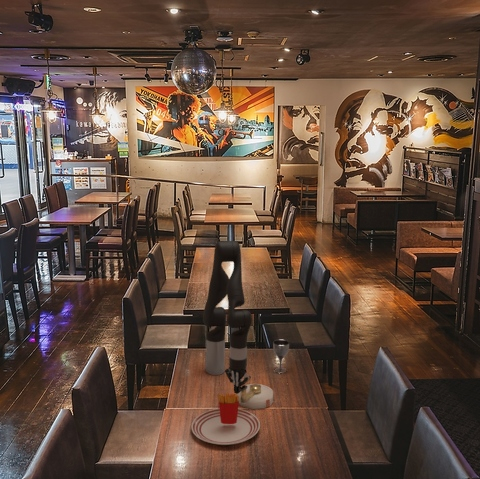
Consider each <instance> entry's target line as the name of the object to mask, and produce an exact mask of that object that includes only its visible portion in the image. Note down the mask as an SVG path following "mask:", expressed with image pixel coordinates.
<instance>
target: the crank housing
mask: <svg viewBox="0 0 480 479" xmlns="http://www.w3.org/2000/svg"><path fill="white" fill-rule="evenodd" d="M252 384H253V383H250V384H249V383H248V384H245V385H246V386H247V389H246V393H248V392H249V391H250V385H252ZM257 384H258V385H260V386H261V392H260V393H259V394H254V395H253V396H252V397H251V398H249V399H248V400H247V401H246V402H245V403H241V402H240V398H241V391H240V393H238V394H236V396H237V395H238V396H239V399H238V400H239V405H240V406H241V407H244V408H246V409H250V410H262V409H267V408H268V407H271V405H273V403H274V390H273V389H272V388H271V387H269V386H267V385H265V384H261V383H257Z"/></svg>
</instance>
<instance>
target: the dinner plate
mask: <svg viewBox="0 0 480 479" xmlns="http://www.w3.org/2000/svg"><path fill="white" fill-rule="evenodd" d="M190 427H191V432H192V433H193V435H194V436H195V437H196V438H197V439H199V440H201V441H203V442H205V443H209V444H213V445H220V446H221V445H222V446H227V445H229V446H230V445H236V444H240V443H244V442H246V441H249V440H250V439H252V438H254V437H255V436H256V435H257V433H258V432H260V428H261V422H260V420H259V419H258V417H257V416H256V414H254V413H252V412H250V411H248V410H246V409H241V408H238V415H237V423H235V424H223V423H221V418H220V409H219V407H218V408H213V409H209V410H206V411H204V412H202V413H200V414H198V415H197V416H196V417H195V418H194V419H193V421H192V423H191V426H190Z"/></svg>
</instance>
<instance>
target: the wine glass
mask: <svg viewBox="0 0 480 479" xmlns="http://www.w3.org/2000/svg"><path fill="white" fill-rule="evenodd" d="M272 345H273V346H272V347H273V349H272V350H273V352H274V354H275V356H276V357H277V358H278V360H279V367H280V368H278V367H275V368H276V370H275V372H274V373H276V372H278V373H277V374H280V373H282V372H285V371H286V370H285V369H286V368H285V367H282V363H283V359H284V358H285V357H286V356H288V353H289V350H290V342H289V340H286V339H275V340H274V341H273V342H272ZM284 368H285V369H284ZM282 374H283V373H282Z"/></svg>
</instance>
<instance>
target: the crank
mask: <svg viewBox="0 0 480 479" xmlns="http://www.w3.org/2000/svg"><path fill="white" fill-rule="evenodd" d="M251 384H252V385H250V391H249V392H248V393H246V389H247V386H246V385H247V384H244V385H242V386H241V388H240V389H239V391H241V398H240V402H241V403H245V402H246V401H247V400H248V399H249V398H251V397H252V396H253V395H254V394H259V393H260V392H261V386H260V385H258V384H259V383H251Z"/></svg>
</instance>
